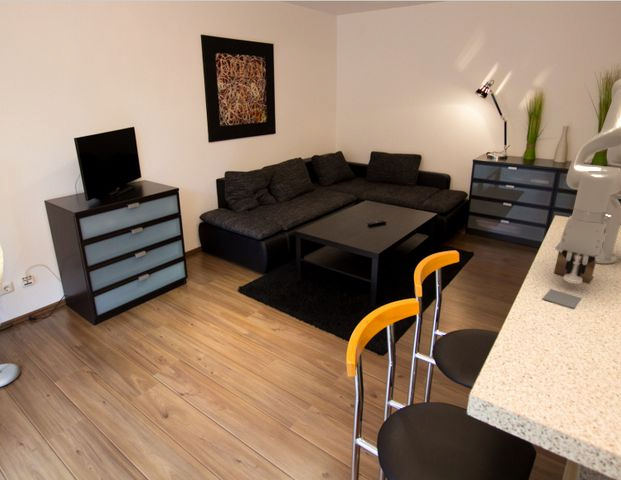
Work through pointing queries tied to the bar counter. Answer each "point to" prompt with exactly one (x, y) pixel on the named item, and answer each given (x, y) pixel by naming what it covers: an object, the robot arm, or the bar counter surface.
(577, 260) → the chess piece
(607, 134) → the robot arm
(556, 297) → the pad
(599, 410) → the bar counter surface
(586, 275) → the brown piece
